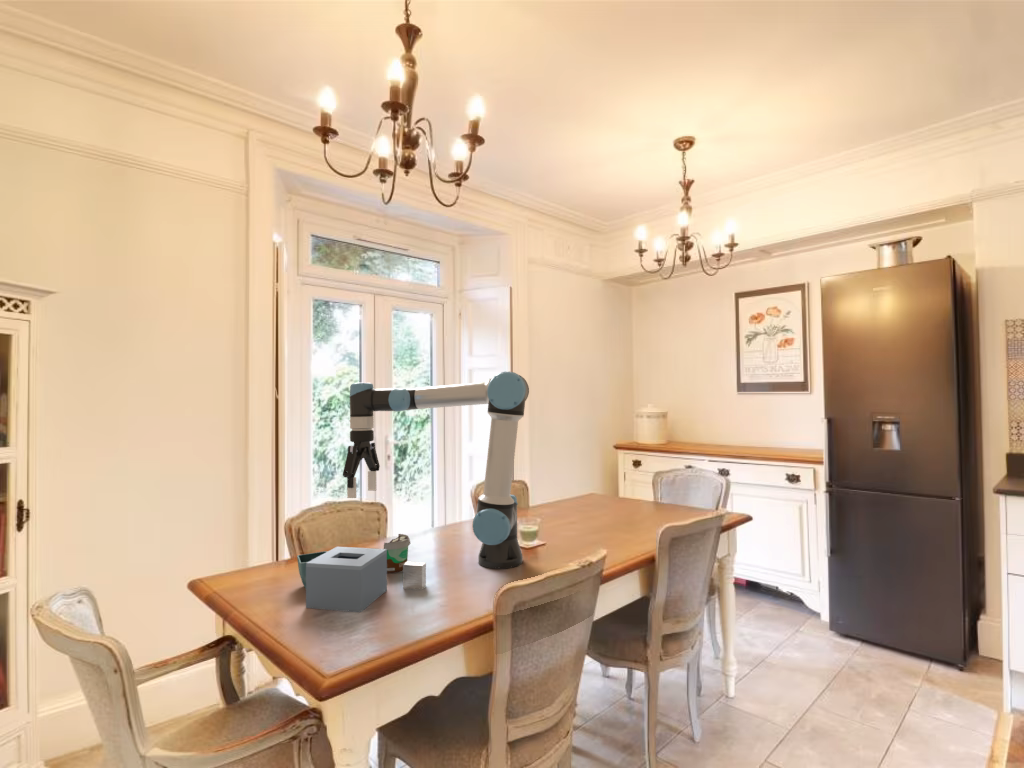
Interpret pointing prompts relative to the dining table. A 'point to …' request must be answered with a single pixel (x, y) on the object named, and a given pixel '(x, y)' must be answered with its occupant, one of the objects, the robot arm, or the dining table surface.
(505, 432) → the robot arm
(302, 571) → the flower pot
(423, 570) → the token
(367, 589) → the coin box
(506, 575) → the dining table surface
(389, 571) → the food container
